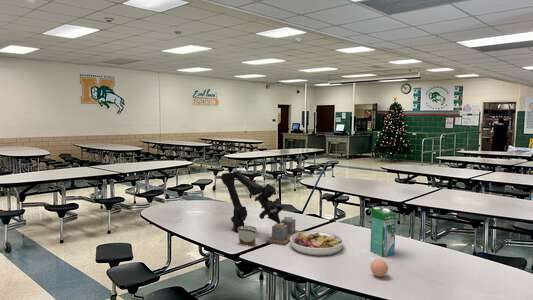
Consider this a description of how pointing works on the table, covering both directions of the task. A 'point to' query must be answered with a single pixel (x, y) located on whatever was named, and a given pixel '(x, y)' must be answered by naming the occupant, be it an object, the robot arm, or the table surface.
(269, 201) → the robot arm
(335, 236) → the bowl
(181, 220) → the table surface
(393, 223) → the milk carton
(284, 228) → the button posts
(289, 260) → the table surface
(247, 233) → the food container
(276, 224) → the terracotta button
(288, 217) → the sage button
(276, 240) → the walnut board
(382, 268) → the toy ball
